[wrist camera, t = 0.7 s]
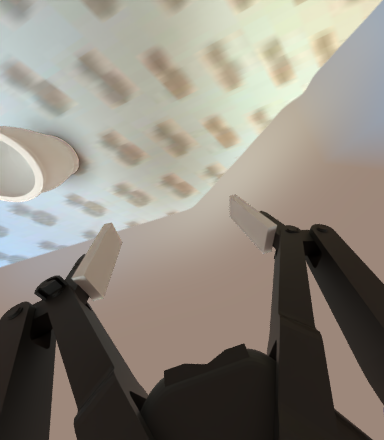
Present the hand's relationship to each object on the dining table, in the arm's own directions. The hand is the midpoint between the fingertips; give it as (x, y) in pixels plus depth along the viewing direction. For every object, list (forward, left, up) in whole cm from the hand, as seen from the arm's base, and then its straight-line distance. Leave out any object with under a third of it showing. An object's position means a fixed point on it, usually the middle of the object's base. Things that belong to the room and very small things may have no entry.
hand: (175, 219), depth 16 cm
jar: (-7, -23, -28) cm, 37 cm away
